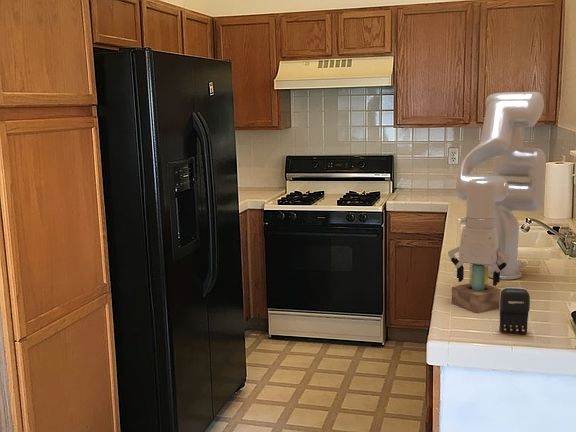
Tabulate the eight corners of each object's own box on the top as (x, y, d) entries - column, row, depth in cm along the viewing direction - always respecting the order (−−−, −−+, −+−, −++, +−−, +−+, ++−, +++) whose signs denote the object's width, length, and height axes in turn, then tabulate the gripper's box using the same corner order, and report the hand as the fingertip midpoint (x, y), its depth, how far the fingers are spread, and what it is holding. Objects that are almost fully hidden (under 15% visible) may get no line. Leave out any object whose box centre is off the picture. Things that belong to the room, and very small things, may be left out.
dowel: (481, 303, 182) (482, 262, 179) (485, 307, 178) (486, 265, 176) (469, 303, 181) (470, 263, 179) (473, 307, 178) (474, 266, 176)
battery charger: (499, 334, 157) (501, 290, 155) (497, 329, 160) (499, 286, 159) (529, 336, 155) (531, 291, 153) (526, 331, 159) (529, 287, 157)
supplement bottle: (490, 287, 197) (492, 255, 196) (482, 291, 193) (483, 258, 192) (474, 284, 201) (475, 252, 199) (465, 288, 197) (466, 256, 195)
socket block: (477, 298, 187) (478, 281, 186) (503, 307, 178) (503, 290, 177) (451, 303, 182) (451, 286, 181) (476, 313, 173) (477, 295, 172)
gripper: (445, 223, 177) (443, 282, 180) (510, 228, 168) (507, 290, 171) (452, 218, 183) (450, 276, 186) (514, 223, 175) (512, 283, 178)
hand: (477, 282), depth 179 cm, fingers open, 9 cm apart
